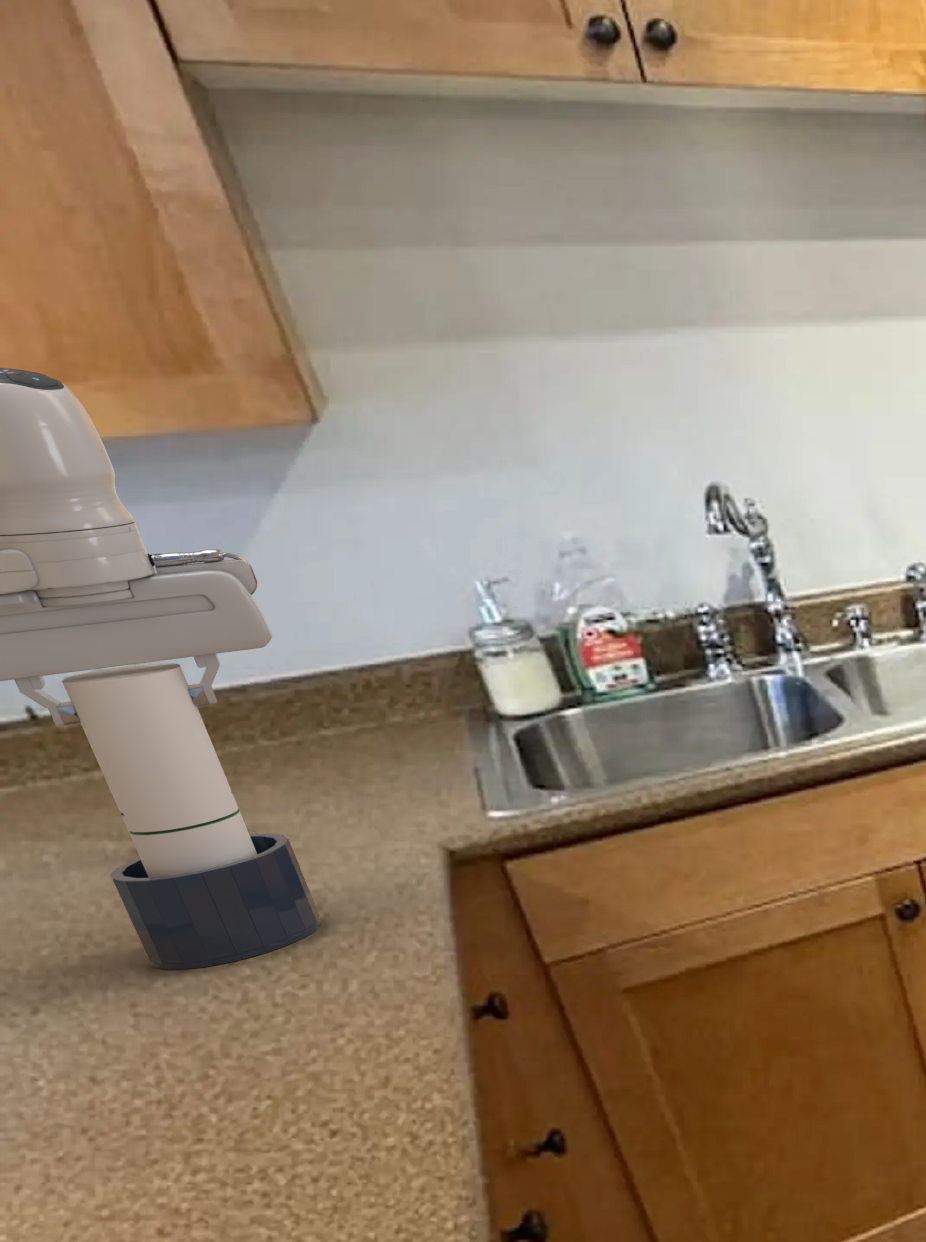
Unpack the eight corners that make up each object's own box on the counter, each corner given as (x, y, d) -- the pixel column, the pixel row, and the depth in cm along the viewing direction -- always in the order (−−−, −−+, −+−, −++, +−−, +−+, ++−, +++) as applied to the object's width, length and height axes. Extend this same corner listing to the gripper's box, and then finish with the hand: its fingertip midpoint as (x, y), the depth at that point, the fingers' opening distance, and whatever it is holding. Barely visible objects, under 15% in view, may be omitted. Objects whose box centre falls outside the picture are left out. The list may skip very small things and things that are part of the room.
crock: (112, 971, 121) (70, 882, 118) (237, 917, 132) (202, 834, 129) (239, 968, 121) (200, 879, 118) (354, 914, 132) (321, 831, 129)
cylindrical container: (272, 903, 131) (172, 659, 122) (289, 920, 127) (187, 669, 118) (168, 929, 125) (56, 676, 117) (182, 947, 121) (68, 687, 113)
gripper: (243, 542, 123) (297, 684, 128) (-105, 573, 109) (-31, 731, 114) (244, 549, 119) (299, 696, 124) (-118, 583, 105) (-40, 746, 110)
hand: (138, 713), depth 119 cm, fingers closed on cylindrical container, 7 cm apart
